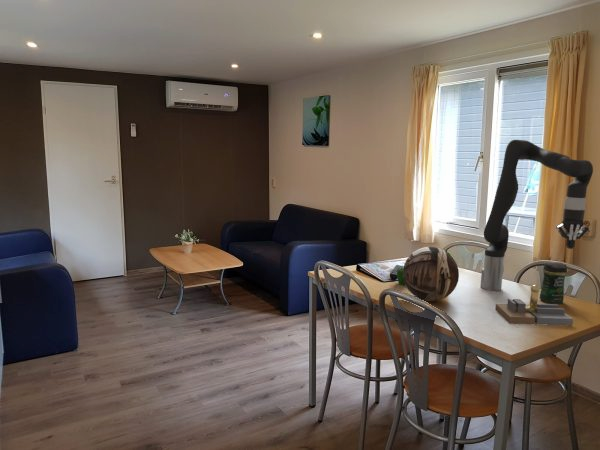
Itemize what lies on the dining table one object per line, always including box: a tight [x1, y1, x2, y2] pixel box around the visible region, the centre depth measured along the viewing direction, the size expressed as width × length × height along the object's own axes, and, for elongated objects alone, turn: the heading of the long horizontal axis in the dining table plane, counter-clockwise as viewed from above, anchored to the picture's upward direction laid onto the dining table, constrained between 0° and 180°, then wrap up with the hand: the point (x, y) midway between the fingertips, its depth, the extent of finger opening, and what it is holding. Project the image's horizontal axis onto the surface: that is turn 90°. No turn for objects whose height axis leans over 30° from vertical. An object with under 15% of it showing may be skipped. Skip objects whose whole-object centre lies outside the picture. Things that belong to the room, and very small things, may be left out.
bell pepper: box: [396, 267, 406, 286], centre depth 242 cm, size 8×8×10 cm
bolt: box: [516, 284, 541, 312], centre depth 196 cm, size 9×3×11 cm, turn 87°
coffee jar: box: [539, 262, 568, 304], centre depth 217 cm, size 10×8×19 cm
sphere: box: [402, 246, 460, 302], centre depth 216 cm, size 25×25×25 cm
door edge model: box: [494, 298, 574, 326], centre depth 197 cm, size 25×16×7 cm, turn 87°
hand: (569, 248), depth 199 cm, fingers closed
